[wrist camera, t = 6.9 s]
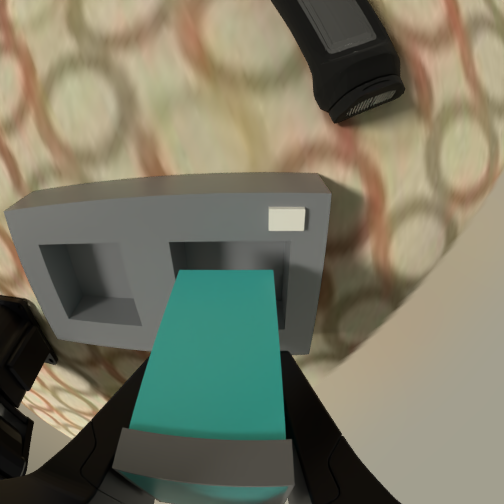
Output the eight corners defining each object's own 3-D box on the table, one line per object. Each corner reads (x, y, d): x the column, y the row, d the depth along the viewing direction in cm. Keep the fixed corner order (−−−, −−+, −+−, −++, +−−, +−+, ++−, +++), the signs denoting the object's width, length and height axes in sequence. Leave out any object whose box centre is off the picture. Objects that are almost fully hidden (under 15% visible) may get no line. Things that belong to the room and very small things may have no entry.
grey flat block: (74, 311, 16) (56, 341, 14) (32, 191, 12) (1, 213, 10) (303, 319, 16) (309, 357, 13) (317, 173, 12) (332, 195, 9)
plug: (189, 336, 12) (159, 501, 6) (176, 267, 10) (112, 467, 4) (273, 337, 12) (281, 509, 6) (276, 267, 10) (294, 484, 4)
